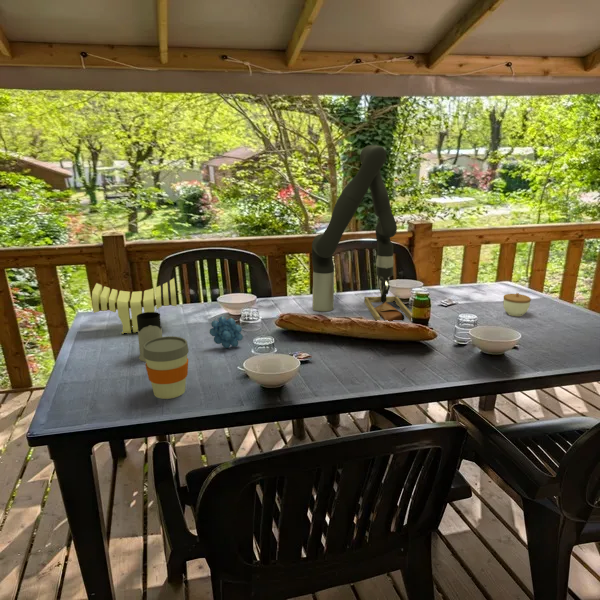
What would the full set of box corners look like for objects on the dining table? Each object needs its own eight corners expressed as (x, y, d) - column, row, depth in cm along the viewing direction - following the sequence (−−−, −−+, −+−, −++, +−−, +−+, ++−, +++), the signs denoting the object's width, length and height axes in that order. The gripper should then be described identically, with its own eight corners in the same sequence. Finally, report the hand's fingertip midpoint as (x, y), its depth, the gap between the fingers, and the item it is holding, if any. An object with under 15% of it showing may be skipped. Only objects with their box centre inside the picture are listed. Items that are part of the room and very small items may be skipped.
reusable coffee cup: (184, 378, 152) (181, 333, 148) (196, 395, 142) (193, 347, 138) (143, 387, 147) (138, 340, 142) (152, 405, 136) (147, 355, 132)
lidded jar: (502, 316, 209) (505, 295, 206) (500, 309, 219) (503, 289, 216) (529, 319, 206) (532, 297, 203) (527, 311, 216) (529, 291, 213)
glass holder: (140, 363, 164) (135, 321, 159) (136, 348, 176) (132, 308, 172) (167, 359, 167) (163, 317, 162) (161, 345, 179) (158, 305, 175)
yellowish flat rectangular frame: (377, 322, 203) (377, 316, 202) (364, 301, 231) (364, 296, 230) (413, 321, 203) (414, 315, 203) (396, 301, 231) (397, 296, 231)
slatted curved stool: (97, 338, 186) (91, 293, 180) (101, 325, 200) (96, 283, 195) (178, 331, 193) (175, 287, 188) (177, 318, 208) (174, 278, 203)
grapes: (210, 353, 171) (208, 321, 168) (210, 346, 178) (208, 315, 174) (244, 351, 173) (242, 319, 170) (242, 344, 180) (241, 313, 176)
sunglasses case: (369, 309, 220) (376, 296, 219) (381, 315, 222) (388, 303, 221) (386, 322, 203) (394, 308, 202) (399, 328, 205) (407, 315, 205)
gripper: (373, 262, 227) (372, 298, 232) (379, 268, 215) (378, 306, 220) (389, 261, 228) (388, 297, 233) (396, 268, 215) (394, 306, 220)
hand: (383, 301), depth 226 cm, fingers closed
